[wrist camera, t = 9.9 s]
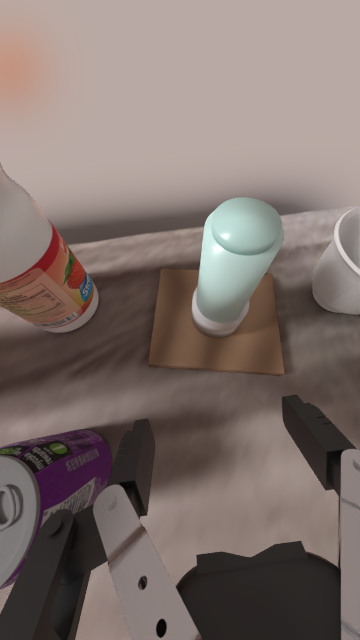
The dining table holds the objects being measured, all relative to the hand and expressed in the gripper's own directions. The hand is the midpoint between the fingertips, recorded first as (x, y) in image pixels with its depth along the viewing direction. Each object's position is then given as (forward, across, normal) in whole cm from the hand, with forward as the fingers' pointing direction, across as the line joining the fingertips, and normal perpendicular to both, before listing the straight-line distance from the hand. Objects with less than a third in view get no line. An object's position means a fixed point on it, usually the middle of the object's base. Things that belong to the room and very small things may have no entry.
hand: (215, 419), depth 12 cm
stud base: (+17, -3, 0) cm, 17 cm away
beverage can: (+7, +15, +10) cm, 19 cm away
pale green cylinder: (+13, -3, -4) cm, 14 cm away
